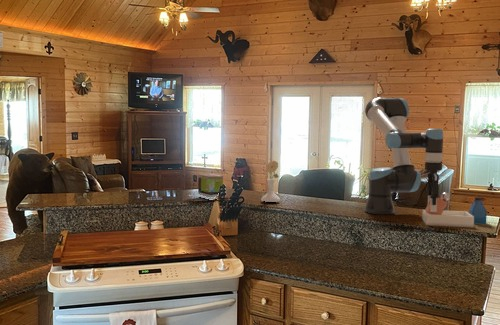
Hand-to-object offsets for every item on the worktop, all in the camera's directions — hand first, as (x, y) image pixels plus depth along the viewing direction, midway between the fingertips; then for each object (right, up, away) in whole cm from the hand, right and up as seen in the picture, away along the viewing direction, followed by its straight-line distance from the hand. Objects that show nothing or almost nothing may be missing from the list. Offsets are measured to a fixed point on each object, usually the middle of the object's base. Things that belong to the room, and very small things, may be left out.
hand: (432, 210), depth 223 cm
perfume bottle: (+23, -6, +3) cm, 24 cm away
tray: (+7, -6, -1) cm, 9 cm away
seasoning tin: (0, -2, 0) cm, 2 cm away
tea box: (-110, 0, +67) cm, 129 cm away
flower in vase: (-73, -1, +54) cm, 91 cm away
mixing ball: (+6, +7, -1) cm, 9 cm away
